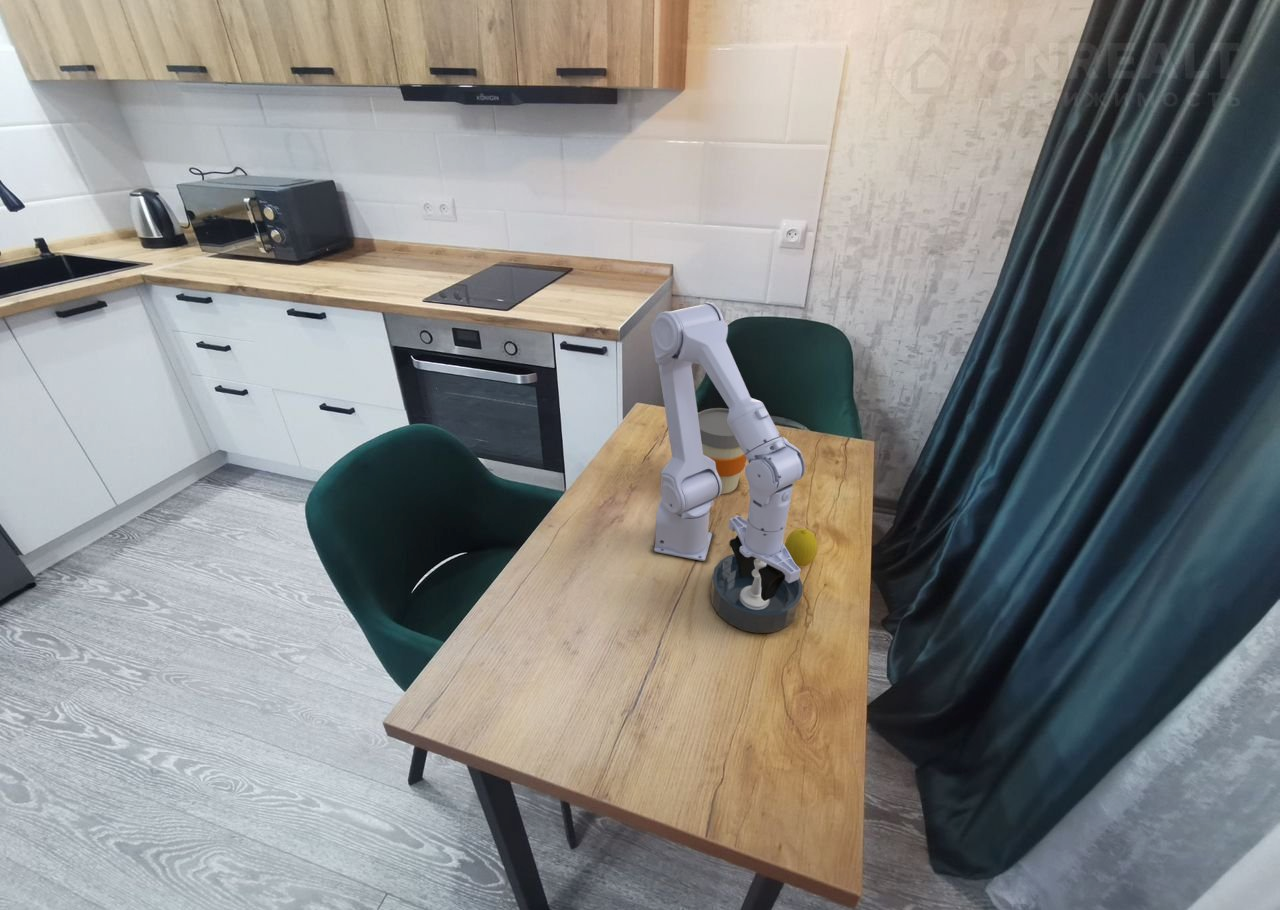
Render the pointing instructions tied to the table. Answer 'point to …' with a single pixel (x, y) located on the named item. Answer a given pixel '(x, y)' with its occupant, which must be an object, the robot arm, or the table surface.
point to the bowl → (735, 613)
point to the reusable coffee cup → (721, 446)
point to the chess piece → (754, 590)
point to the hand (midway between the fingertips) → (756, 586)
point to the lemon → (802, 546)
